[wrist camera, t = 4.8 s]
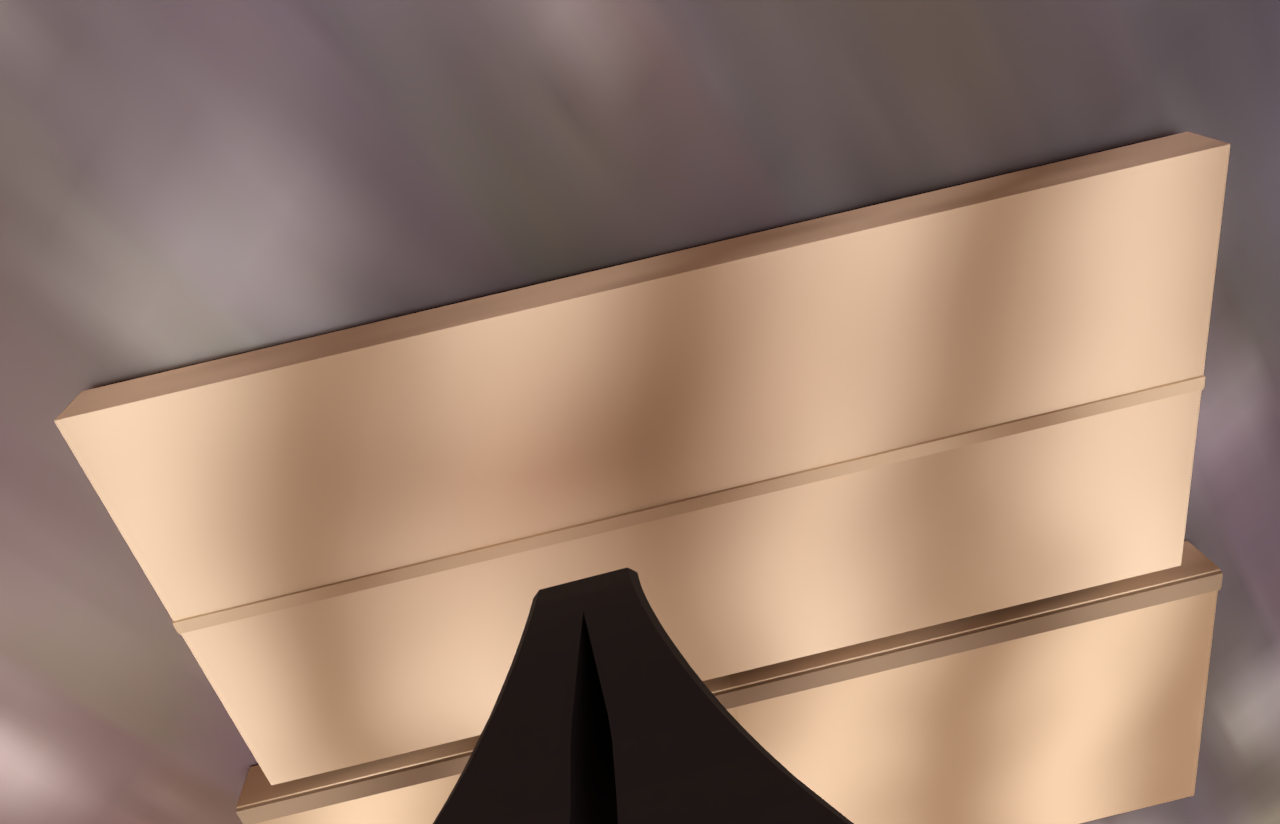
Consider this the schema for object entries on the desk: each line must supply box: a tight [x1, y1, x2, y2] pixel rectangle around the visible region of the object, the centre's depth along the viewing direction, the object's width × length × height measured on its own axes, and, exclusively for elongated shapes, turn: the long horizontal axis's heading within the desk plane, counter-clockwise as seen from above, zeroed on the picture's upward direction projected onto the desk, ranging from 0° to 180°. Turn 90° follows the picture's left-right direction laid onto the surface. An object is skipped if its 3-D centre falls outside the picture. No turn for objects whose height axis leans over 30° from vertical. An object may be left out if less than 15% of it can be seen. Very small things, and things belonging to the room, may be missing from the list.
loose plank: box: [54, 131, 1230, 785], centre depth 19 cm, size 22×10×1 cm, turn 102°
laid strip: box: [236, 541, 1223, 824], centre depth 24 cm, size 24×8×1 cm, turn 102°
